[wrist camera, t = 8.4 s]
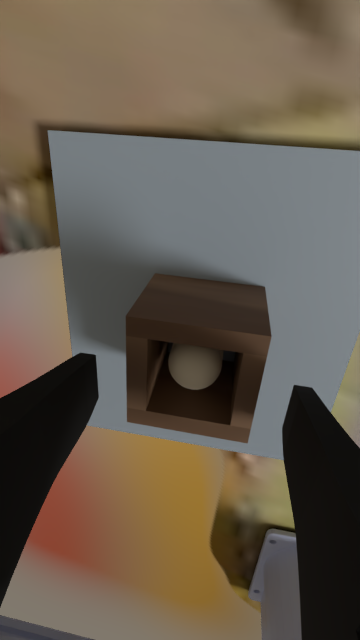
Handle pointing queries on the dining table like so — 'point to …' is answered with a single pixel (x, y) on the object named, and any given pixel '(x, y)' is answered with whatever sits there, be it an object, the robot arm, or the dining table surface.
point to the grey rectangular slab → (211, 259)
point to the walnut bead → (204, 331)
